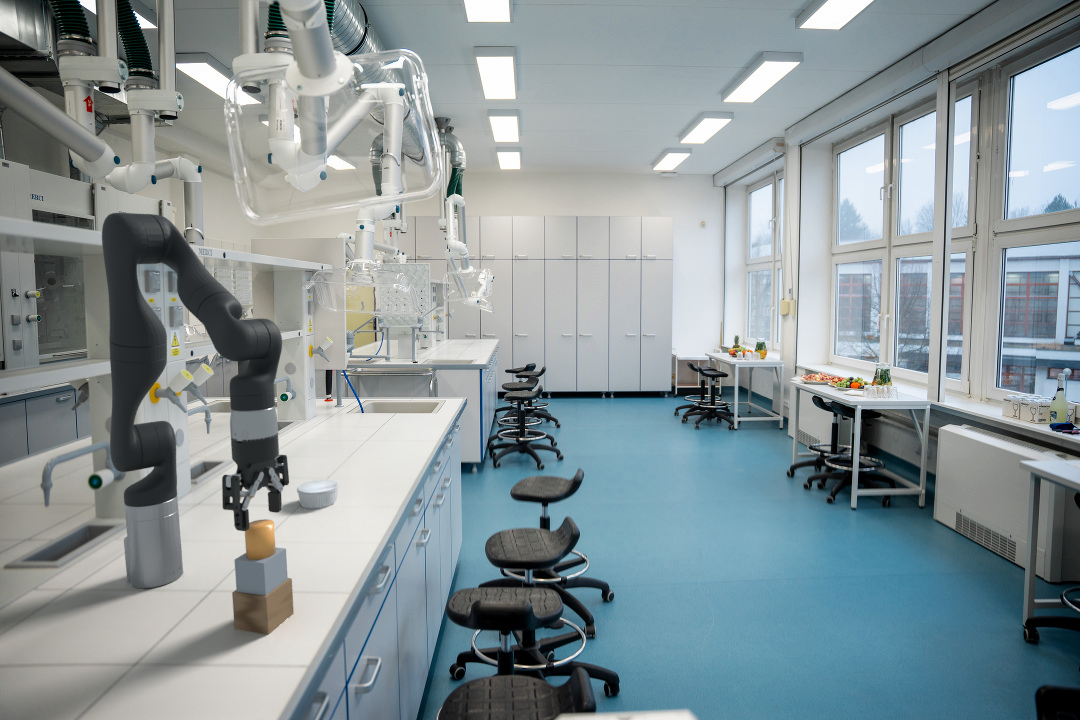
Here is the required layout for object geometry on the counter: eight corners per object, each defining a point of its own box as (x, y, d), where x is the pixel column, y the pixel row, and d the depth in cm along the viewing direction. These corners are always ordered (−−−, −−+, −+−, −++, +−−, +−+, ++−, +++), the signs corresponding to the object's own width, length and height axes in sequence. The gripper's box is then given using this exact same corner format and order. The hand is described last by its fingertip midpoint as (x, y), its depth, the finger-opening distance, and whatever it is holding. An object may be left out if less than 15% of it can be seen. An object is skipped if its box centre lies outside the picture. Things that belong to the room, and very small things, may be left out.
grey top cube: (236, 591, 105) (234, 559, 105) (259, 575, 111) (257, 545, 111) (265, 595, 104) (263, 563, 103) (287, 579, 110) (285, 548, 109)
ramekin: (324, 512, 162) (323, 493, 161) (288, 508, 164) (288, 490, 164) (347, 498, 173) (346, 480, 172) (313, 495, 175) (312, 478, 175)
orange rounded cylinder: (240, 558, 105) (238, 528, 105) (258, 546, 110) (256, 518, 109) (263, 561, 104) (262, 531, 103) (281, 549, 109) (279, 520, 108)
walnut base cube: (234, 629, 106) (232, 592, 105) (261, 609, 113) (259, 574, 112) (268, 634, 104) (266, 597, 104) (293, 613, 111) (291, 578, 110)
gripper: (263, 422, 112) (267, 504, 114) (205, 441, 98) (211, 534, 100) (298, 424, 110) (302, 508, 112) (244, 444, 97) (249, 539, 99)
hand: (259, 520), depth 106 cm, fingers open, 8 cm apart
